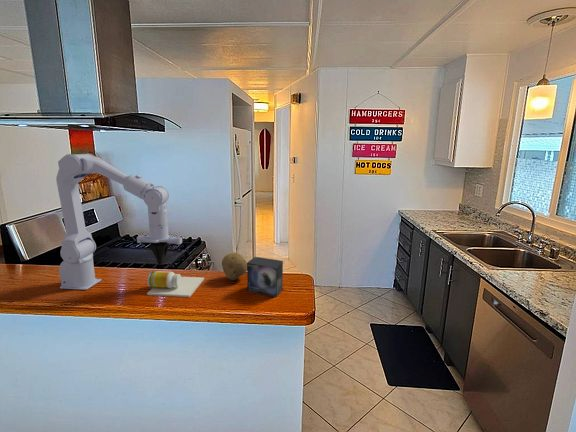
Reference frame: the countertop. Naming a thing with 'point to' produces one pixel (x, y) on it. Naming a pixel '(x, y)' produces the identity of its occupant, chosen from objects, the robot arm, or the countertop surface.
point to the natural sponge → (234, 266)
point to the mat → (179, 288)
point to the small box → (265, 276)
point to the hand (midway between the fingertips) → (161, 263)
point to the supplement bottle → (163, 279)
